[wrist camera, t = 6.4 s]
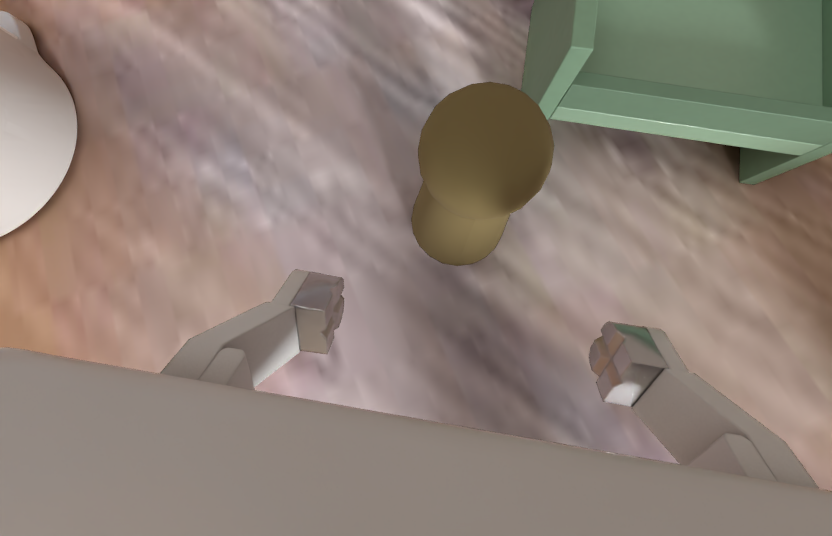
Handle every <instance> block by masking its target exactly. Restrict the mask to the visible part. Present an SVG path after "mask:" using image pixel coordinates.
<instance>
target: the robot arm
mask: <svg viewBox="0 0 832 536" xmlns="http://www.w3.org/2000/svg"><path fill="white" fill-rule="evenodd" d="M76 140H77V115H76V110H75V106H74V102H73V99H72V97H71V94H70V92H69V90H68V88H67V86H66V85H65V83H64V82H63V80H62V79H61V78H60V76H59V75H58V74H57V73H56V72H55V71H54V70H53V69H52V68H51V67H50V66H49V65H48V64H47V63H46V62H45V61H44V60H43V59H42V58H41V56H40V55H39V54H38V51H37V47H36V44H35V41H34V38H33V35H32V33H31V31H30V29H29V27H28V26H27V25H26V24H25V23H24V22H22V21H21V20H19V19H17V18H16V17H14V16H13V15H11V14H10V13H8V12H5V11H0V237H1V236H3V235H5V234H7V233H9V232H11V231H12V230H14V229H16V228H17V227H19V226H20V225H22V224H23V223H25V222H26V221H27V220H29V219H30V218H31V217H32V216H33V215H35V214H36V213H37V212H38V211H39V210H40V209H41V208H42V207H43V206H44V205H45V204H46V203H47V202H48V200H49V199H50V198H51V197H52V195H53V194H54V193H55V191H56V190H57V189H58V187H59V186H60V184H61V182H62V181H63V179H64V177H65V175H66V173H67V171H68V169H69V166H70V164H71V161H72V158H73V155H74V151H75V146H76ZM343 289H344V279H343V278H342V277H337V276H332V275H326V274H321V273H316V272H309V271H304V270H298V269H295V270H294V271H292V272H291V274H290V275H289V277H288V278H287V280H286V281H285V283H284V284H283V286H282V287H281V289H280V290H279V292H278V293H277V294H276V296H275V297H274V299H273V300H272V302H265V303H263V304H261V305H259V306H257V307H255V308H252V309H250V310H248V311H246V312H244V313H242V314H240V315H238V316H236V317H234V318H232V319H230V320H228V321H226V322H224V323H221V324H219V325H217V326H215V327H213V328H211V329H209V330H207V331H205V332H203V333H201V334H199V335H197V336H195V337H193V338H191V339H189V340H188V341H187V342H186V343H185V345H184V346H183V347H182V348H181V349H180V350H179V352H178V353H177V354H176V355H175V356H174V357H173V359H172V360H171V361H170V362H169V363H168V364H167V366H166V367H165V368H164V369H163V370H162V371H161V373H160V374H159V373H154V372H148V371H142V370H136V369H131V368H125V367H119V366H113V365H108V364H102V363H96V362H90V361H85V360H79V359H73V358H67V357H62V356H56V355H50V354H45V353H40V352H35V351H30V350H25V349H17V348H9V347H4V348H0V536H832V491H828V490H822V489H819V487H818V486H817V485H816V483H815V482H814V480H813V479H812V478H811V476H810V475H809V474H808V472H807V471H806V470H805V468H804V467H803V465H802V464H801V463H800V461H799V460H798V459H797V457H796V456H795V455H794V453H793V452H792V450H791V449H790V448H789V446H788V445H787V444H786V442H785V441H783V440H782V439H781V438H779V437H778V436H777V435H775V434H774V433H773V432H771V431H770V430H769V429H768V428H766V427H765V426H764V425H762V424H761V423H760V422H758V421H757V420H756V419H754V418H753V417H752V416H750V415H749V414H748V413H746V412H745V411H744V410H742V409H741V408H740V407H738V406H737V405H736V404H734V403H733V402H732V401H731V400H729V399H728V398H727V397H725V396H724V395H723V394H721V393H720V392H719V391H717V390H716V389H715V388H713V387H712V386H711V385H709V384H708V383H707V382H705V381H704V380H703V379H701V378H700V377H699V376H698V375H696V374H695V373H690V372H689V371H688V369H687V368H686V366H685V365H684V363H683V361H682V360H681V358H680V356H679V355H678V353H677V352H676V350H675V348H674V347H673V345H672V343H671V342H670V340H669V339H668V337H667V335H666V334H665V332H664V331H662V330H661V329H658V328H651V327H644V326H642V327H641V326H635V325H629V324H623V323H616V322H610V321H608V322H607V323H605V324H604V326H603V327H602V329H601V333H602V337H600V338H598V339H596V340H594V342H593V344H592V346H591V348H590V353H589V361H590V366H591V369H592V371H594V372H595V373H596V374H597V375H598V376H599V378H598V380H597V382H596V383H597V386H598V389H599V392H600V395H601V398H602V400H603V402H608V403H613V404H618V405H623V406H628V407H632V408H631V409H632V410H633V411H634V412H635V413H636V414H637V415H638V417H639V418H640V419H641V420H642V421H643V422H644V423H645V425H646V426H647V427H648V428H649V429H650V430H651V432H652V433H653V434H654V435H655V436H656V437H657V438H658V440H659V441H660V442H661V443H662V444H663V445H664V446H665V448H666V449H667V450H668V451H669V452H670V453H671V455H672V456H673V457H674V458H675V459H676V460H677V461H678V463H679V464H674V463H668V462H663V461H657V460H651V459H646V458H640V457H634V456H628V455H623V454H617V453H611V452H606V451H600V450H594V449H588V448H583V447H577V446H571V445H565V444H560V443H554V442H548V441H542V440H537V439H531V438H525V437H520V436H514V435H508V434H502V433H497V432H491V431H485V430H480V429H474V428H468V427H463V426H457V425H451V424H445V423H440V422H434V421H428V420H423V419H417V418H411V417H405V416H400V415H394V414H388V413H383V412H377V411H371V410H365V409H360V408H354V407H348V406H342V405H337V404H331V403H325V402H320V401H314V400H308V399H302V398H297V397H291V396H285V395H280V394H274V393H268V392H262V391H257V390H255V389H254V387H255V386H257V385H258V384H259V383H261V382H262V381H263V380H264V379H266V378H267V377H268V376H270V375H271V374H272V373H273V372H275V371H276V370H277V369H279V368H280V367H281V366H283V365H284V364H285V363H286V362H288V361H289V360H290V359H292V358H293V357H294V356H295V355H297V354H298V353H299V352H300V351H307V352H314V353H321V354H328V352H329V350H330V347H331V345H332V342H333V340H334V330H335V329H337V328H338V327H339V325H340V323H341V320H342V316H343V312H344V298H343V296H342V295H341V294H342V292H343Z"/></svg>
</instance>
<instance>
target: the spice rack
mask: <svg viewBox="0 0 832 536" xmlns="http://www.w3.org/2000/svg"><path fill="white" fill-rule="evenodd" d="M521 91H522V92H524V93H526V94H527V95H528V96H529V97H530V98H531V99H532V100H533V101H534V102H535V103H537V104H538V105H539V107H540V108H541V110H542V112H543V114H544V115H545V117H546V119H547V121H548V119H549V117H550V119H554V120H561V121H568V122H575V123H581V124H588V125H595V126H602V127H608V128H615V129H622V130H629V131H636V132H642V133H649V134H656V135H663V136H669V137H676V138H683V139H690V140H697V141H703V142H710V143H717V144H724V145H731V146H737V147H740V171H739V182H740V183H746V184H752V185H755V184H757V183H759V182H762V181H764V180H767V179H769V178H772V177H774V176H777V175H779V174H782V173H784V172H787V171H789V170H791V169H794V168H796V167H799V166H801V165H804V164H806V163H809V162H811V161H814V160H816V159H818V158H821V157H823V156H826V155H828V154H831V153H832V0H534V3H533V6H532V11H531V19H530V27H529V34H528V42H527V50H526V58H525V65H524V73H523V81H522V88H521Z"/></svg>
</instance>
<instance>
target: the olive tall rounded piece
mask: <svg viewBox="0 0 832 536" xmlns="http://www.w3.org/2000/svg"><path fill="white" fill-rule="evenodd" d="M553 150H554V142H553V137H552V132H551V127H550V125H549V123H548V121H547V119H546V117H545V115H544V114H543V112H542V110H541V108H540V107H539V105H538V104H537V103H535V102H534V101H533V100H532V99H531V98H530V97H529V96H528V95H527V94H526V93H524V92H522V91H520V90H518V89H516V88H514V87H512V86H509V85H505V84H499V83H493V82H486V83H477V84H471V85H469V86H466V87H464V88H462V89H460V90H457V91H455V92H453V93H451V94H449V95H448V96H447V97H445V98H444V99H443V100H442V101H441V102H440V103H439V104H438V105H436V106H435V108H434V109H433V111H432V113H431V114H430V116H429V118H428V120H427V121H426V123H425V125H424V127H423V129H422V132H421V137H420V142H419V147H418V158H419V165H420V173H421V176H422V178H423V180H424V181H423V184H422V186H421V189H420V191H419V194H418V196H417V199H416V201H415V204H414V208H413V213H412V218H411V220H412V228H413V234H414V236H415V238H416V240H417V242H418V244H419V246H420V247H421V248H422V249H423V250H424V251H425V252H426V253H427V254H428V255H429V256H430V257H432V258H434V259H436V260H438V261H439V262H441V263H444V264H450V265H455V266H460V265H468V264H473V263H475V262H477V261H479V260H481V259H483V258H485V257H486V256H487V255H488V254H489V253H490V252H491V251H492V250H493V249H495V247H496V245H497V244H498V242H499V240H500V238H501V236H502V234H503V231H504V228H505V226H506V223H507V221H508V218H509V216H510V213H513V212H515V211H517V210H519V209H521V208H522V207H523V206H524V205H525V204H526V203H527V202H528V201H529V200H530V199H532V198H533V197H534V196H535V195H536V194H537V193H538V192H539V191H540V190H541V188H542V186H543V184H544V182H545V180H546V178H547V176H548V174H549V172H550V168H551V165H552V158H553Z"/></svg>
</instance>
